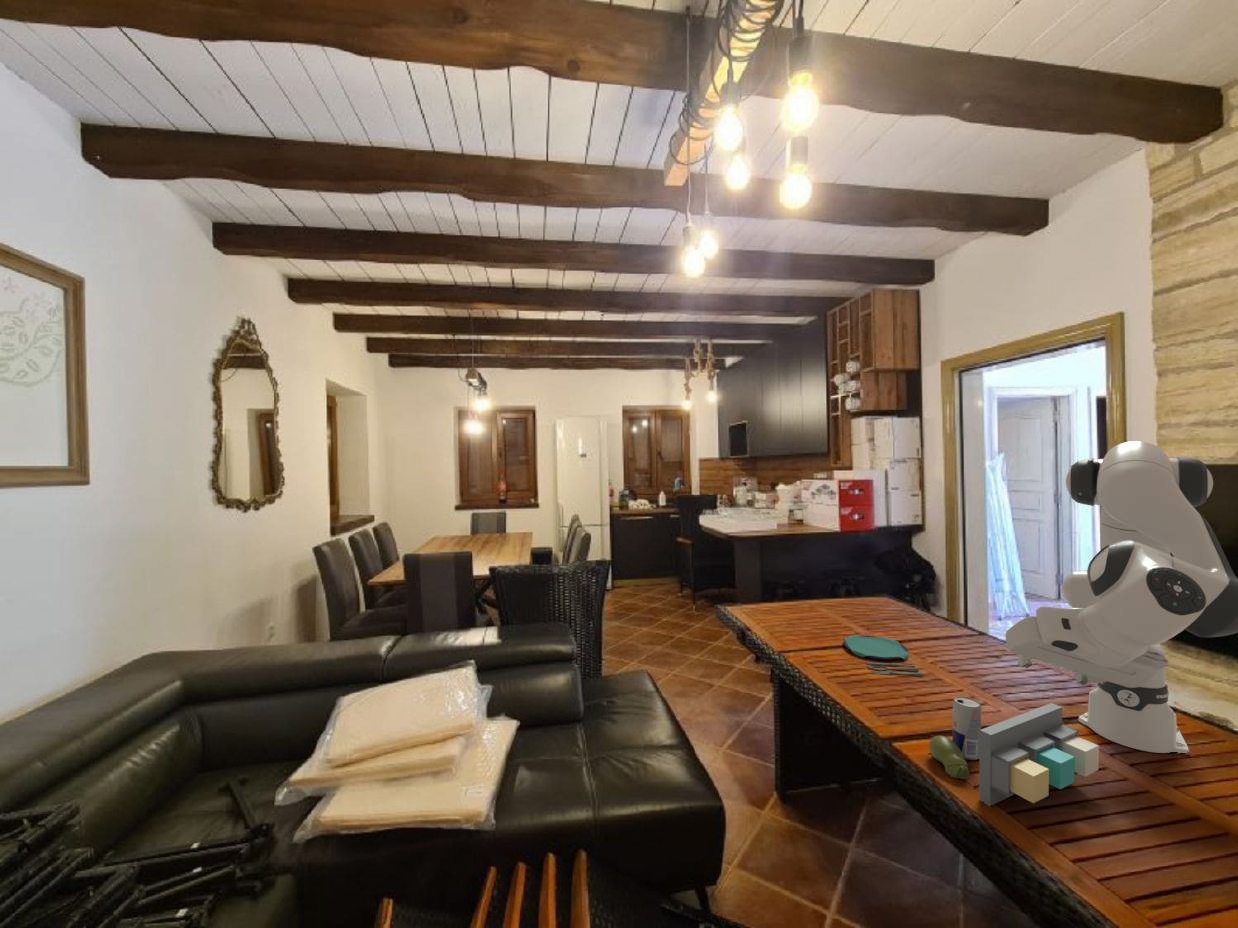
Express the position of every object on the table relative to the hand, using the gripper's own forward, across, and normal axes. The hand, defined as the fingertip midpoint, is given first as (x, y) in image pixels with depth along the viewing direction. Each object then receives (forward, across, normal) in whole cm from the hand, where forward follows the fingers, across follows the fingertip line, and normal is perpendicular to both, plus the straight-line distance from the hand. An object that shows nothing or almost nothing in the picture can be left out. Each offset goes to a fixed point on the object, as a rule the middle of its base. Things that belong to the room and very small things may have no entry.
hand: (1050, 671), depth 95 cm
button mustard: (+18, -3, +15) cm, 24 cm away
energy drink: (+35, -1, +4) cm, 35 cm away
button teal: (+20, -10, +10) cm, 25 cm away
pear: (+32, +4, +10) cm, 34 cm away
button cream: (+23, -17, +5) cm, 29 cm away
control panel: (+26, -9, +11) cm, 30 cm away
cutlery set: (+74, +3, -35) cm, 82 cm away
